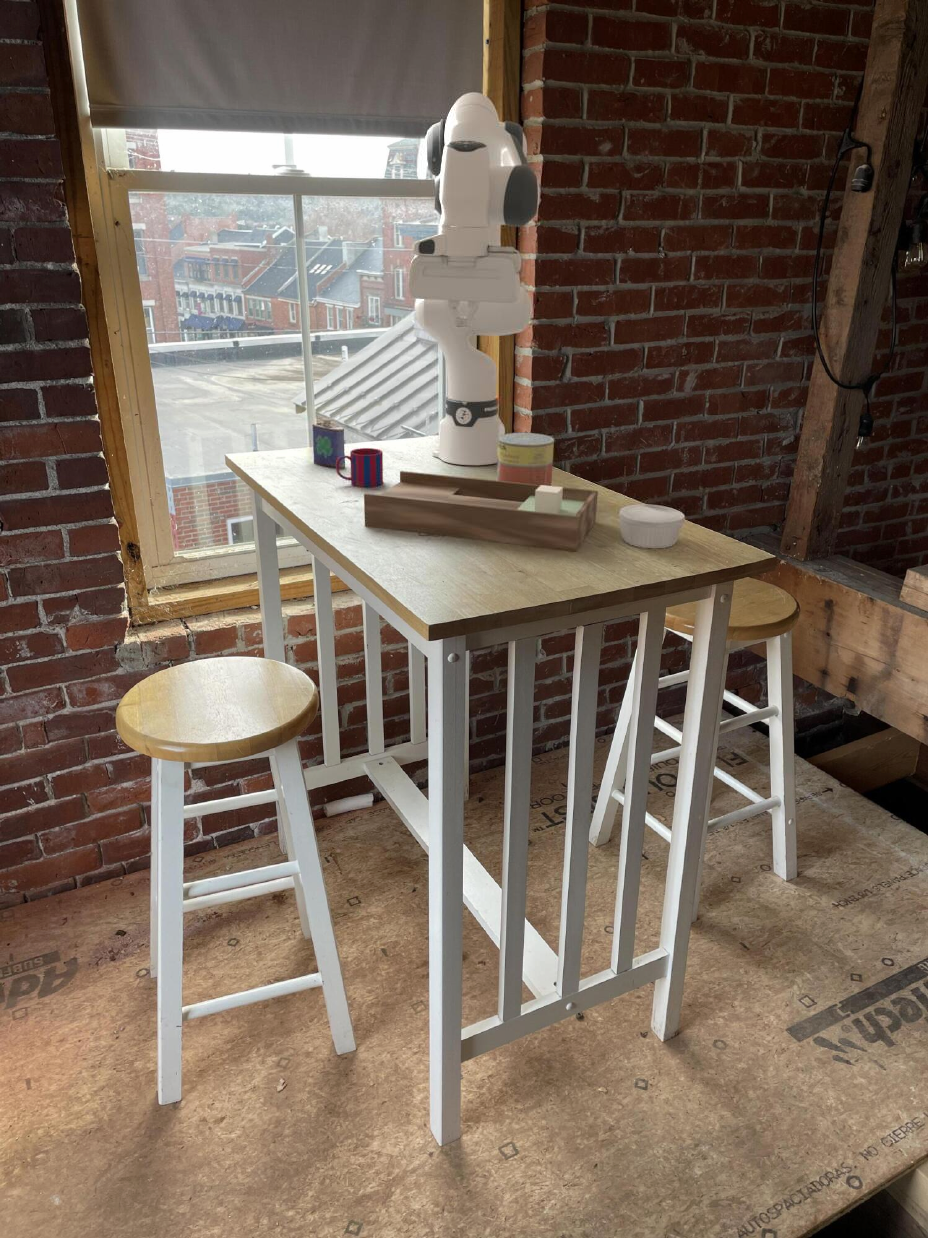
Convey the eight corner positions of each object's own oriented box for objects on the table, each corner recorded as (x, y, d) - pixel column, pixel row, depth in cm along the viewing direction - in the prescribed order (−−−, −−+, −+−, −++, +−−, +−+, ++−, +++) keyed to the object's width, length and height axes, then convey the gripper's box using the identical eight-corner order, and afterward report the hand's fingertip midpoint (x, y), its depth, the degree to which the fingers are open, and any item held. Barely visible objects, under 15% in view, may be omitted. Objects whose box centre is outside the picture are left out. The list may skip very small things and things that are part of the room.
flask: (347, 467, 204) (345, 419, 200) (338, 470, 202) (336, 421, 198) (319, 461, 209) (316, 414, 205) (309, 463, 207) (307, 416, 203)
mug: (386, 486, 190) (385, 454, 187) (338, 489, 187) (337, 456, 185) (379, 478, 196) (378, 447, 193) (333, 481, 193) (332, 449, 190)
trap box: (401, 500, 181) (401, 470, 178) (595, 521, 170) (597, 490, 167) (364, 525, 165) (363, 493, 162) (575, 551, 154) (578, 517, 152)
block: (539, 506, 164) (541, 484, 163) (561, 508, 163) (562, 487, 161) (534, 512, 161) (535, 490, 159) (556, 515, 160) (557, 492, 158)
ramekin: (687, 537, 163) (690, 508, 161) (674, 555, 153) (677, 525, 151) (626, 528, 167) (628, 500, 165) (609, 545, 157) (612, 516, 155)
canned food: (500, 488, 191) (502, 431, 186) (553, 491, 189) (556, 434, 184) (491, 502, 180) (493, 442, 176) (548, 506, 178) (551, 446, 174)
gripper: (526, 245, 158) (523, 328, 164) (417, 242, 164) (417, 322, 170) (517, 246, 153) (514, 332, 159) (404, 243, 159) (405, 326, 164)
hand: (463, 327), depth 164 cm, fingers closed
